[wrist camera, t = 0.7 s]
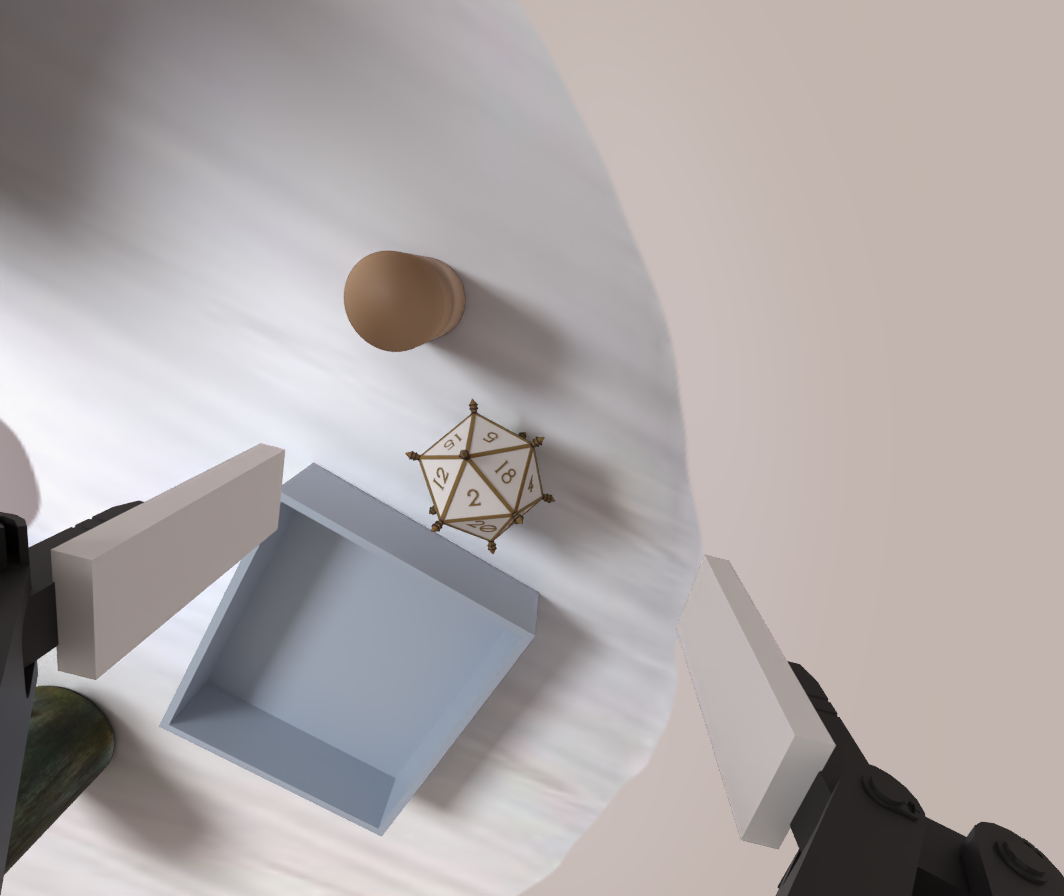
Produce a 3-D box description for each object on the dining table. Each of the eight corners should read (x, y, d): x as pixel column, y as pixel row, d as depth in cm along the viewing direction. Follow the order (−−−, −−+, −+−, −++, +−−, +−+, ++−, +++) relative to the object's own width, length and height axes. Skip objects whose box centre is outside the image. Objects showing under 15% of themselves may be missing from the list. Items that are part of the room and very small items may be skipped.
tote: (202, 678, 44) (158, 726, 39) (313, 462, 37) (276, 489, 32) (400, 779, 46) (381, 836, 41) (538, 593, 39) (535, 635, 35)
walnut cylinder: (375, 311, 34) (328, 318, 27) (410, 240, 32) (370, 230, 26) (441, 352, 34) (411, 369, 28) (479, 285, 33) (457, 286, 26)
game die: (524, 441, 40) (604, 515, 32) (437, 514, 39) (499, 607, 31) (466, 356, 33) (549, 424, 26) (362, 440, 32) (418, 534, 25)
